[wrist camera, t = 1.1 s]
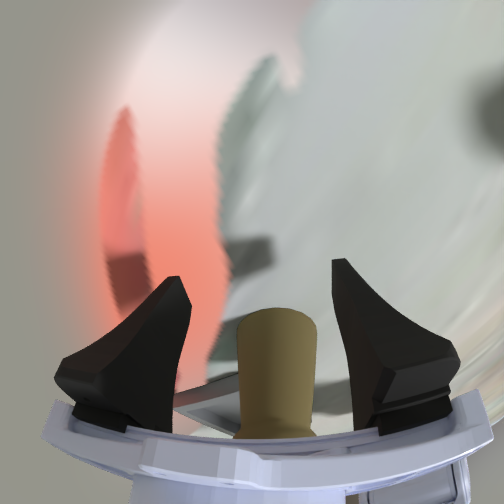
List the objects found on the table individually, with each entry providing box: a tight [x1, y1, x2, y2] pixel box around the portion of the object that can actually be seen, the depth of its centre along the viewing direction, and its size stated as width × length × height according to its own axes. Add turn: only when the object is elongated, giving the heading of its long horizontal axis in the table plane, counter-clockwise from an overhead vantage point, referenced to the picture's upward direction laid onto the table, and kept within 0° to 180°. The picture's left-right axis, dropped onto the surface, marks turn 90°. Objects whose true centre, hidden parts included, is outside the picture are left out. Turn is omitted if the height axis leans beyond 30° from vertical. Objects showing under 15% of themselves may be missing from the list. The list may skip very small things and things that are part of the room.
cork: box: [233, 308, 317, 439], centre depth 15 cm, size 6×6×11 cm
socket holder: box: [173, 374, 312, 436], centre depth 27 cm, size 11×11×2 cm
